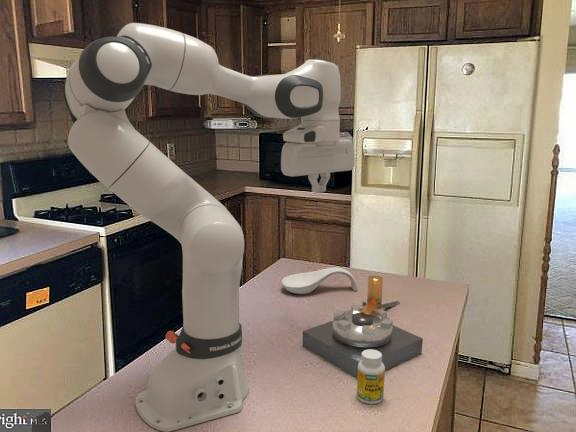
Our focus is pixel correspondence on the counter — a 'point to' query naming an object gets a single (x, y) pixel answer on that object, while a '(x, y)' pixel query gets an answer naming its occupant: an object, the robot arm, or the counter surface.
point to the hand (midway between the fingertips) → (318, 192)
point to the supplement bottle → (370, 377)
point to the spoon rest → (313, 280)
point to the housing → (360, 348)
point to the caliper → (384, 304)
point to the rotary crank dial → (364, 320)
